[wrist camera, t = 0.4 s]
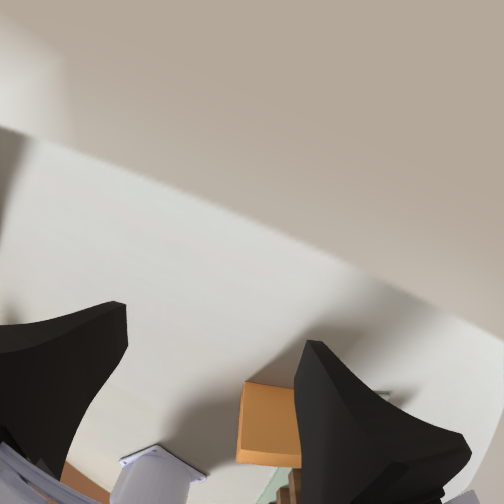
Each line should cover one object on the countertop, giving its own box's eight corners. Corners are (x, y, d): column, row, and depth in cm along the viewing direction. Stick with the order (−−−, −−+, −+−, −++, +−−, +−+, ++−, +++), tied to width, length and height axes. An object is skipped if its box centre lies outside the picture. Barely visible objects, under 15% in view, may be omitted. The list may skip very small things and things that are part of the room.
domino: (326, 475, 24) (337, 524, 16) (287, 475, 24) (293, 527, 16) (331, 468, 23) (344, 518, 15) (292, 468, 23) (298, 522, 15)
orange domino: (295, 402, 22) (306, 468, 14) (241, 394, 22) (235, 461, 14) (300, 390, 22) (315, 455, 14) (245, 381, 22) (240, 449, 14)
